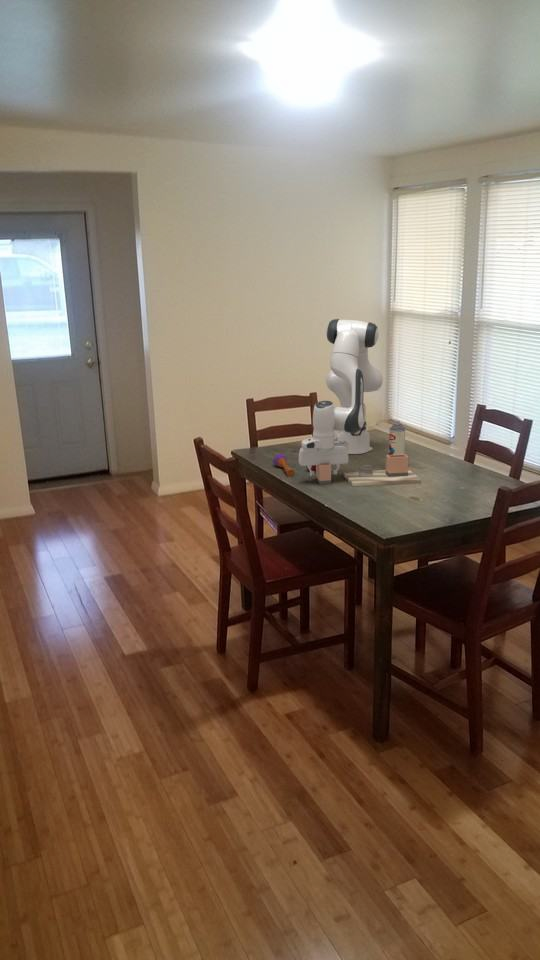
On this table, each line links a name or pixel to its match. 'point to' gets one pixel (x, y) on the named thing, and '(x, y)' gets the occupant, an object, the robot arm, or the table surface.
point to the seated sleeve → (397, 465)
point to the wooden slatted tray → (378, 477)
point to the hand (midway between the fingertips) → (323, 475)
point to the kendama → (283, 463)
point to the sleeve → (323, 474)
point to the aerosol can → (396, 439)
